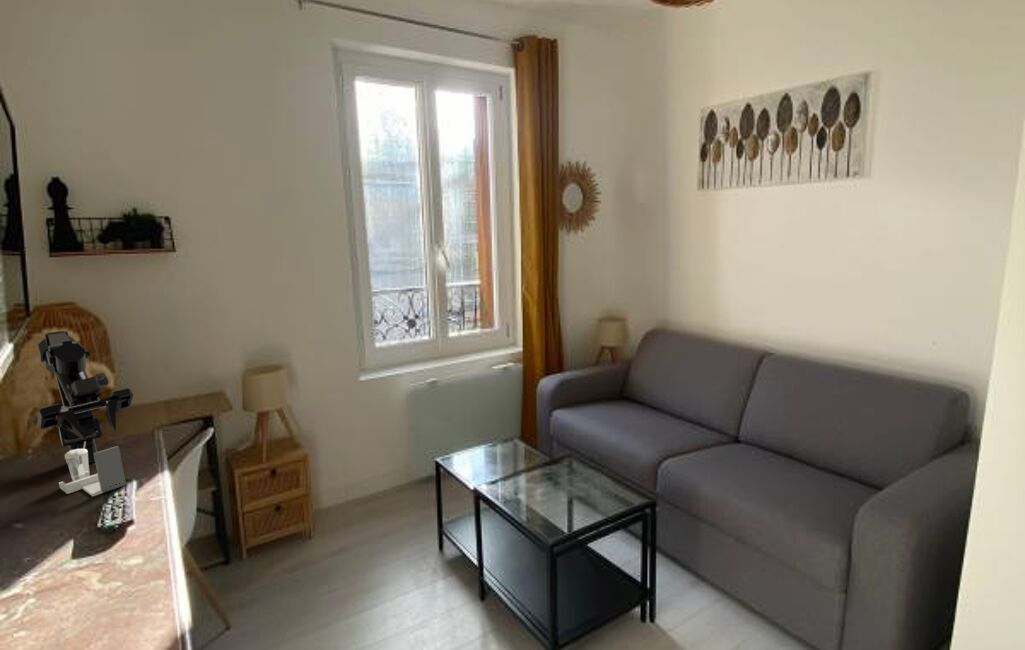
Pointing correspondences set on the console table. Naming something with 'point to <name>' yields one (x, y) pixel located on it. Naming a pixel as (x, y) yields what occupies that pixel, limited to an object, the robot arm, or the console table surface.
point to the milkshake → (78, 463)
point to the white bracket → (100, 474)
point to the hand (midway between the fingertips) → (100, 434)
